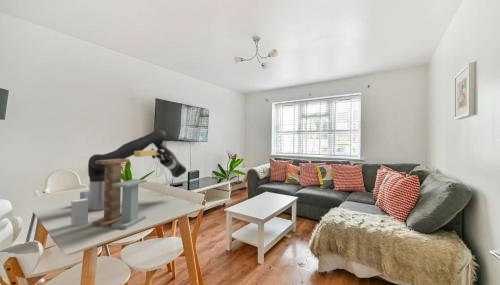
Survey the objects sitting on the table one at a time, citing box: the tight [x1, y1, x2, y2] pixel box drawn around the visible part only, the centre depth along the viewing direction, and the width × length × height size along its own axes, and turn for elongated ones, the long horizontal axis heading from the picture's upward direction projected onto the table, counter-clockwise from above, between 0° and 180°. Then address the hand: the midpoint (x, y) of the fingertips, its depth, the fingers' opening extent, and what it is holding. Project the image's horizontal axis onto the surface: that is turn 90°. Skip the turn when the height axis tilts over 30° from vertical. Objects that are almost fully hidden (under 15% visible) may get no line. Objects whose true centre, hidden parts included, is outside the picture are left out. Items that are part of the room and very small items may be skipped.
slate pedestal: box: [111, 178, 148, 230], centre depth 105 cm, size 8×14×21 cm, turn 170°
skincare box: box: [70, 198, 89, 227], centre depth 102 cm, size 6×4×12 cm
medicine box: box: [79, 189, 90, 200], centre depth 134 cm, size 8×4×9 cm, turn 168°
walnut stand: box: [90, 158, 130, 228], centre depth 107 cm, size 10×14×32 cm
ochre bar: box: [133, 149, 164, 158], centre depth 120 cm, size 4×22×3 cm, turn 170°
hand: (154, 150), depth 124 cm, fingers closed on ochre bar, 3 cm apart
